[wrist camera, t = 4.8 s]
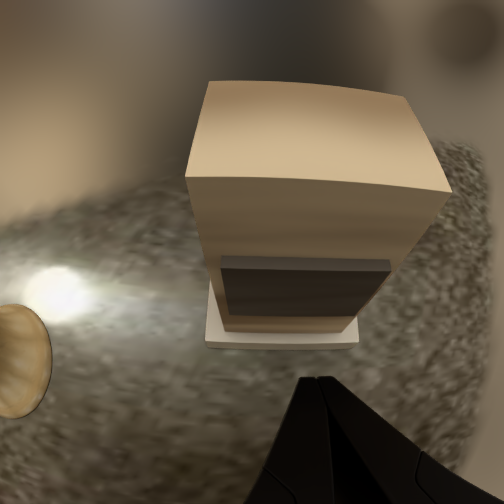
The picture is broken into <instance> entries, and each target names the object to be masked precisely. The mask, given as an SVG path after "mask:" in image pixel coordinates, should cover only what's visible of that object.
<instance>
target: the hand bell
mask: <svg viewBox="0 0 504 504" xmlns="http://www.w3.org/2000/svg"><path fill="white" fill-rule="evenodd" d="M51 369H52V352H51V345H50V340H49V336H48V333H47V330H46V328H45V326H44V324H43V322H42V321H41V319H40V318H39V317H38V315H37V314H36V313H35V312H33V311H32V310H31V309H29V308H27V307H25V306H23V305H18V304H9V305H4V306H1V307H0V416H1V417H4V418H8V419H16V418H21V417H23V416H26V415H27V414H29V413H30V412H32V411H33V410H34V409H35V408H36V407H37V406H38V405H39V403H40V401H41V400H42V399H43V397H44V394H45V392H46V390H47V387H48V384H49V381H50V375H51Z"/></svg>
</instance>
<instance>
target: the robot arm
mask: <svg viewBox="0 0 504 504" xmlns="http://www.w3.org/2000/svg"><path fill="white" fill-rule="evenodd" d="M243 504H504V501H502V500H500V499H498V498H497V497H495V496H493V495H491V494H489V493H487V492H485V491H484V490H481V489H480V488H478V487H477V486H475V485H473V484H471V483H469V482H468V481H466V480H464V479H463V478H461V477H460V476H458V475H456V474H455V473H453V472H452V471H450V470H449V469H447V468H446V467H444V466H443V465H442V464H440V463H439V462H437V461H436V460H435V459H433V458H432V457H431V456H430V455H428V454H427V453H426V452H424V451H422V452H421V449H420V448H419V447H418V446H417V445H415V444H414V443H413V442H412V441H410V440H409V439H408V438H407V437H405V436H404V435H403V434H402V433H400V432H399V431H398V430H397V429H395V428H394V427H393V426H392V425H391V424H389V423H388V422H387V421H386V420H384V419H383V418H382V417H381V416H380V415H378V414H377V413H376V412H375V411H373V410H372V409H371V408H370V407H369V406H367V405H366V404H365V403H364V402H363V401H361V400H360V399H359V398H358V397H357V396H356V395H354V394H353V393H352V392H351V391H350V390H348V389H347V388H346V387H345V386H344V385H343V384H341V383H340V382H339V381H338V380H337V379H336V378H334V377H333V376H319V377H317V378H315V377H300V378H299V380H298V382H297V385H296V387H295V390H294V393H293V395H292V398H291V400H290V403H289V405H288V408H287V410H286V413H285V415H284V418H283V420H282V423H281V425H280V427H279V430H278V432H277V435H276V437H275V439H274V442H273V444H272V446H271V448H270V451H269V453H268V455H267V457H266V460H265V462H264V464H263V466H262V469H261V470H260V472H259V474H258V477H257V479H256V481H255V483H254V485H253V487H252V489H251V490H250V492H249V494H248V496H247V498H246V499H245V501H244V502H243Z"/></svg>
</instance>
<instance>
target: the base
mask: <svg viewBox="0 0 504 504" xmlns="http://www.w3.org/2000/svg"><path fill="white" fill-rule="evenodd" d="M205 342H206V344H207V346H208V347H209V348H226V349H253V350H330V349H351V348H353V347H354V346H355V345H356V344H357V343H359V335H358V324H357V316H356V317H355V318H354V320H353V321H352V322H351V323H350V324H349V325H348V326H347V327H346V328H345V329H344V331H343V332H342V333H250V332H225V331H224V327H223V324H222V320H221V317H220V313H219V310H218V306H217V302H216V299H215V295H214V291H213V288H212V284H211V280H210V288H209V299H208V310H207V322H206V334H205Z"/></svg>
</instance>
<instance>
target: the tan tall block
mask: <svg viewBox="0 0 504 504" xmlns="http://www.w3.org/2000/svg"><path fill="white" fill-rule="evenodd" d="M185 179H186V183H187V188H188V192H189V196H190V200H191V205H192V209H193V213H194V217H195V221H196V225H197V229H198V233H199V237H200V241H201V245H202V249H203V253H204V257H205V261H206V265H207V269H208V273H209V276H210V280H211V284H212V288H213V291H214V295H215V299H216V302H217V306H218V310H219V313H220V317H221V320H222V324H223V327H224V331H225V332H250V333H342V332H343V331H344V329H345V328H346V327H347V326H348V325H349V324H350V323H351V322H352V321H353V320H354V318H355V317H356V316H357V315H358V314H359V313H360V312H361V311H362V309H363V308H364V307H365V306H366V305H367V304H368V303H369V301H370V300H371V299H372V298H373V297H374V296H375V294H376V293H377V292H378V291H379V290H380V289H381V287H382V286H383V285H384V284H385V283H386V281H387V280H388V279H389V278H390V276H391V275H392V274H393V273H394V271H395V270H396V269H397V268H398V266H399V265H400V264H401V263H402V261H403V260H404V259H405V258H406V256H407V255H408V254H409V252H410V251H411V250H412V249H413V247H414V246H415V245H416V243H417V242H418V241H419V239H420V238H421V237H422V235H423V234H424V232H425V231H426V230H427V228H428V227H429V226H430V224H431V223H432V221H433V220H434V219H435V217H436V216H437V214H438V213H439V212H440V210H441V209H442V207H443V206H444V204H445V203H446V201H447V200H448V198H449V197H450V195H451V194H452V190H451V188H450V186H449V183H448V181H447V179H446V176H445V174H444V172H443V170H442V168H441V165H440V163H439V161H438V159H437V157H436V155H435V153H434V151H433V149H432V147H431V145H430V143H429V141H428V139H427V137H426V135H425V133H424V131H423V129H422V127H421V125H420V124H419V122H418V120H417V118H416V117H415V115H414V113H413V111H412V109H411V108H410V106H409V104H408V102H407V101H406V99H405V98H404V97H401V96H396V95H391V94H385V93H379V92H372V91H367V90H360V89H352V88H346V87H337V86H329V85H319V84H307V83H291V82H273V81H210V82H209V85H208V88H207V92H206V95H205V99H204V103H203V106H202V110H201V113H200V117H199V121H198V125H197V129H196V133H195V137H194V141H193V145H192V149H191V153H190V157H189V161H188V166H187V170H186V175H185Z"/></svg>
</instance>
